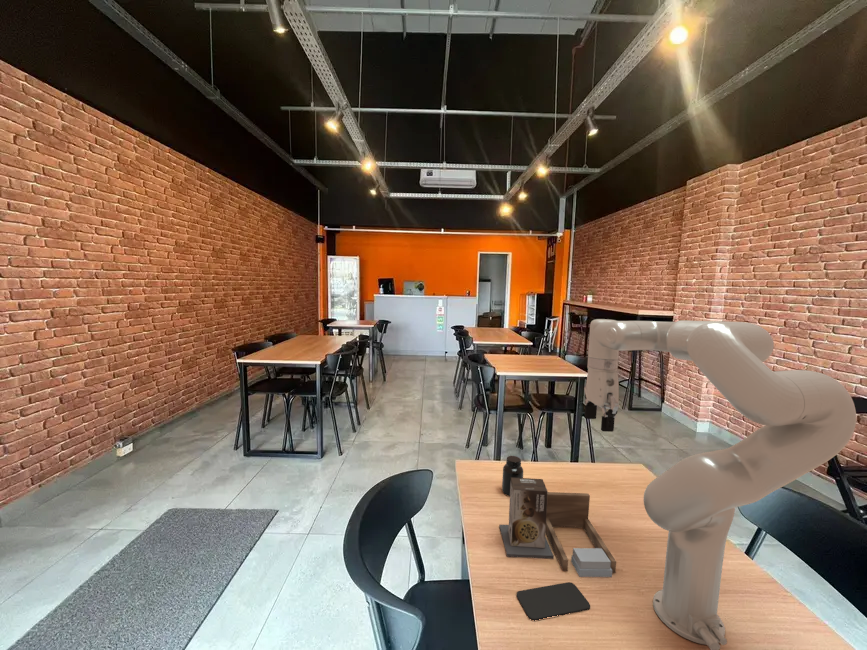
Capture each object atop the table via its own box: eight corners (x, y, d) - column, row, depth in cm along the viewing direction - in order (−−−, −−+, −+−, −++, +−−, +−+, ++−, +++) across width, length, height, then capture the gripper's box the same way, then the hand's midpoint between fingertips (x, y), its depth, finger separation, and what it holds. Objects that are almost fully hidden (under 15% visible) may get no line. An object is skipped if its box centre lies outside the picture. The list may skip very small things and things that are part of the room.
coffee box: (540, 533, 103) (543, 478, 101) (545, 549, 97) (549, 491, 95) (507, 530, 104) (510, 476, 102) (510, 546, 97) (513, 488, 96)
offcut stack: (611, 577, 89) (613, 562, 88) (579, 577, 89) (580, 562, 88) (601, 562, 94) (602, 548, 93) (571, 562, 94) (572, 547, 93)
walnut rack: (615, 572, 90) (618, 534, 89) (562, 570, 90) (565, 532, 89) (585, 525, 108) (588, 493, 107) (541, 523, 108) (543, 491, 107)
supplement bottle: (497, 489, 127) (499, 455, 126) (513, 485, 130) (515, 452, 129) (509, 499, 121) (511, 464, 120) (526, 495, 124) (528, 461, 122)
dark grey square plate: (553, 558, 94) (553, 555, 94) (507, 556, 94) (507, 554, 94) (540, 528, 106) (540, 526, 106) (499, 527, 106) (499, 524, 106)
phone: (593, 607, 80) (530, 620, 76) (592, 611, 80) (530, 623, 76) (572, 581, 87) (514, 591, 83) (572, 584, 87) (514, 594, 83)
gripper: (634, 371, 92) (629, 436, 94) (600, 358, 109) (596, 414, 111) (604, 370, 92) (600, 436, 93) (575, 358, 109) (572, 414, 110)
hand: (598, 424), depth 102 cm, fingers open, 9 cm apart
